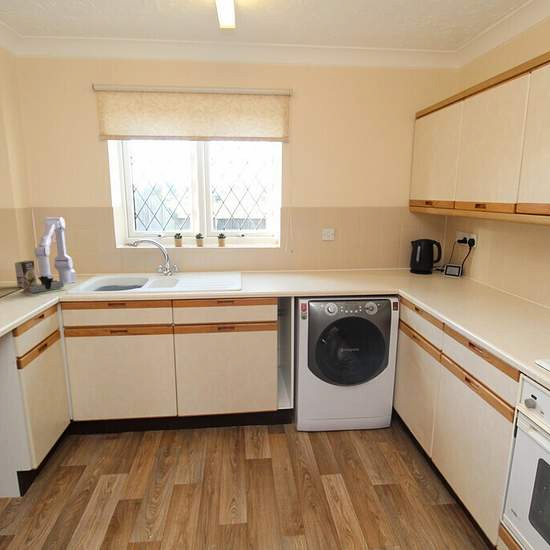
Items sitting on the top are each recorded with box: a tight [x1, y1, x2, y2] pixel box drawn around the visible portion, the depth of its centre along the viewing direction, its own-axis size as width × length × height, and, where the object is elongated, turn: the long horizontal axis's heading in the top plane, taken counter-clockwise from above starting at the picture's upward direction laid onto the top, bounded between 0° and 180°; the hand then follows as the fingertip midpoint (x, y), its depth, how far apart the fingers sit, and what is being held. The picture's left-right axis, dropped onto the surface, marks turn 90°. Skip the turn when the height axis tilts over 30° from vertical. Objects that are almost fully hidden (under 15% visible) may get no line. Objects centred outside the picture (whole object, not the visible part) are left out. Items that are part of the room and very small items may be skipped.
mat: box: [26, 287, 67, 297], centre depth 241 cm, size 20×8×1 cm, turn 140°
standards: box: [22, 279, 58, 294], centre depth 247 cm, size 18×8×5 cm, turn 140°
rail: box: [29, 280, 65, 293], centre depth 241 cm, size 18×4×4 cm, turn 140°
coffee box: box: [14, 260, 38, 289], centre depth 255 cm, size 9×6×16 cm
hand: (47, 288), depth 241 cm, fingers closed on rail, 3 cm apart
